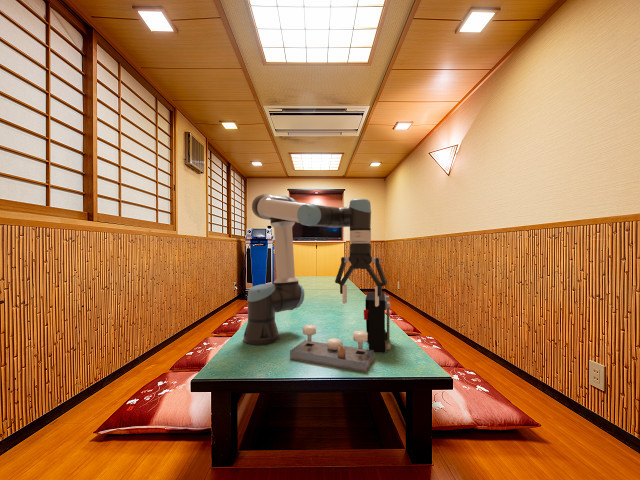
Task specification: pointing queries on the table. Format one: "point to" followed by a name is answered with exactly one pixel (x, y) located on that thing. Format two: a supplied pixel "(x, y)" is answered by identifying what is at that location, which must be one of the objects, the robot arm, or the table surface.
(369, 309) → the electrical component
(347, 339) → the table surface
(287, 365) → the table surface
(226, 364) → the table surface
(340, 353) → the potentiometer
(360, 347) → the knob outer
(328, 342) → the knob mid
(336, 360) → the plate
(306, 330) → the knob
